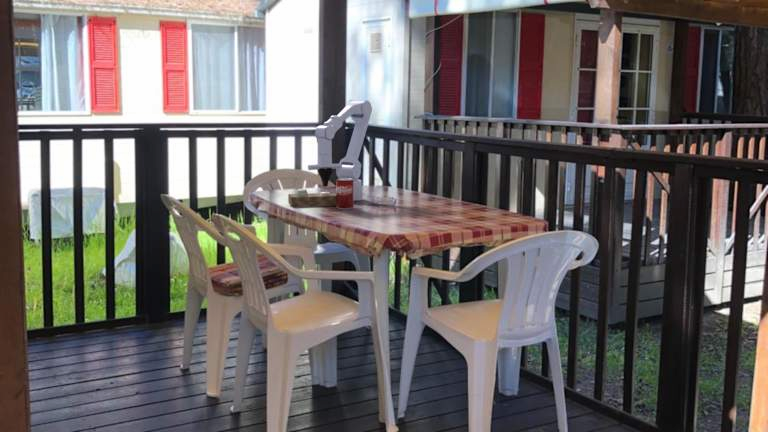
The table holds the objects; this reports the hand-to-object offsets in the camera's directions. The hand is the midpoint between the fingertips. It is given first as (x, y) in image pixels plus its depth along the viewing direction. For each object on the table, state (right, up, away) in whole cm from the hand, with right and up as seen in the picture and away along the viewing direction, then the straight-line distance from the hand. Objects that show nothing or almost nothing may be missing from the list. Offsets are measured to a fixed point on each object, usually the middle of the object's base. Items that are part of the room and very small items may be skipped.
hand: (325, 186), depth 349 cm
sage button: (-10, -5, -2) cm, 11 cm away
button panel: (-5, -8, 0) cm, 9 cm away
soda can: (+9, -10, -10) cm, 16 cm away
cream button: (0, -6, +1) cm, 6 cm away
